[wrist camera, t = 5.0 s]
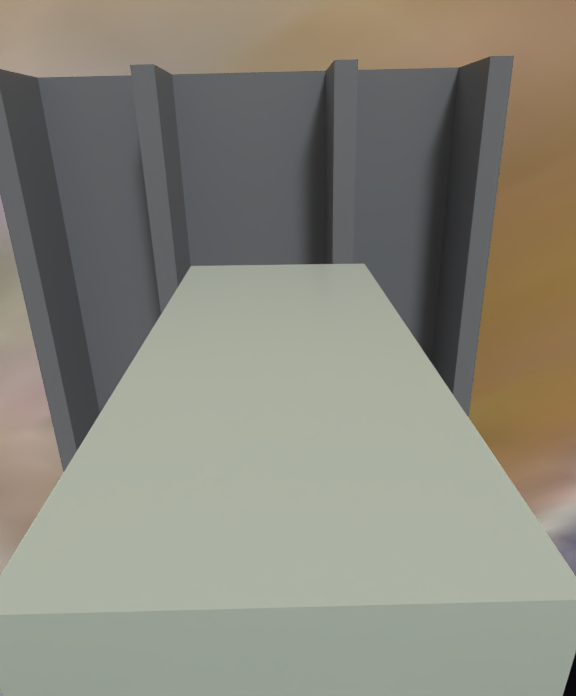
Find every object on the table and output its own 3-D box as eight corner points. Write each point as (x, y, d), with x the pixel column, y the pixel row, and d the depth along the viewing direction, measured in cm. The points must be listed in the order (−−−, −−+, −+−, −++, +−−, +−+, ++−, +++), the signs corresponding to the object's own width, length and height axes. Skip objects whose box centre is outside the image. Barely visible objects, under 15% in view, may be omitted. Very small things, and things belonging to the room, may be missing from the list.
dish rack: (425, 520, 23) (449, 582, 20) (115, 530, 23) (89, 594, 20) (470, 70, 17) (517, 55, 13) (28, 81, 16) (-32, 68, 13)
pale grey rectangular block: (344, 660, 13) (414, 1193, 6) (223, 664, 13) (172, 1204, 6) (364, 263, 9) (593, 600, 3) (191, 266, 9) (-26, 613, 2)
